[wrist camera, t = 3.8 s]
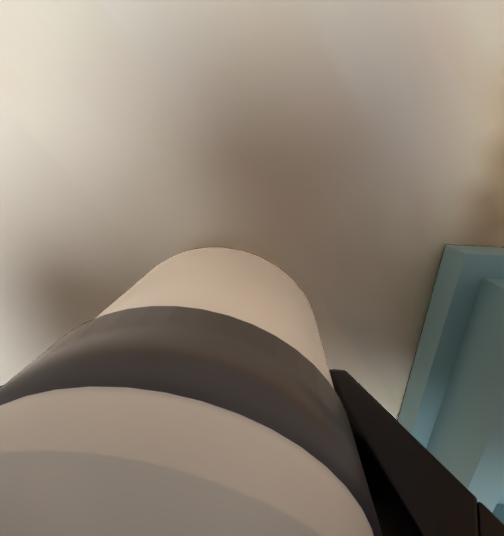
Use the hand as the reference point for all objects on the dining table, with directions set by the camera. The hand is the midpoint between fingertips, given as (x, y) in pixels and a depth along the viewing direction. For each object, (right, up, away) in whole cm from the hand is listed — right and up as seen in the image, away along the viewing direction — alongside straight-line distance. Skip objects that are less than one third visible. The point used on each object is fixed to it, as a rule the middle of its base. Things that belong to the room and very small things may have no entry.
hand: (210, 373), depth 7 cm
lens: (0, +1, +1) cm, 2 cm away
